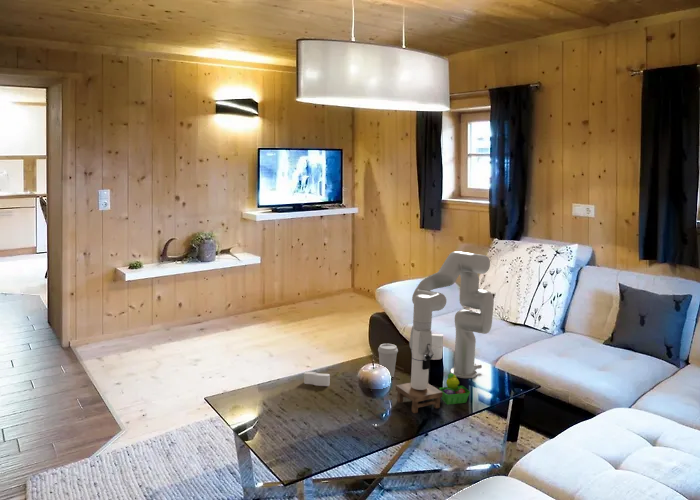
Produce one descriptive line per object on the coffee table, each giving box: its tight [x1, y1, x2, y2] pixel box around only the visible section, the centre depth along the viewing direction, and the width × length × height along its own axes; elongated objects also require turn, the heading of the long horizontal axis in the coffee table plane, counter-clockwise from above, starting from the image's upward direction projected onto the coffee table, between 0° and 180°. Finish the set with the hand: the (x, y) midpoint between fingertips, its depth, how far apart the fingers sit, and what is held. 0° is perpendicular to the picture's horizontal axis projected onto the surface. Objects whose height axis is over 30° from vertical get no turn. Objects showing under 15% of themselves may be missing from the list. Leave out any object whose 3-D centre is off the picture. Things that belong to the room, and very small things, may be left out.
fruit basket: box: [439, 373, 471, 405], centre depth 244 cm, size 11×9×11 cm
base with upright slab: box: [431, 333, 444, 361], centre depth 298 cm, size 9×9×12 cm
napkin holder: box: [303, 371, 331, 387], centre depth 259 cm, size 15×11×6 cm
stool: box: [395, 382, 443, 414], centre depth 240 cm, size 14×14×7 cm
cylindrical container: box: [410, 329, 430, 390], centre depth 237 cm, size 7×7×25 cm
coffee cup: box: [377, 343, 399, 377], centre depth 269 cm, size 10×10×15 cm
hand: (420, 365), depth 238 cm, fingers open, 7 cm apart
